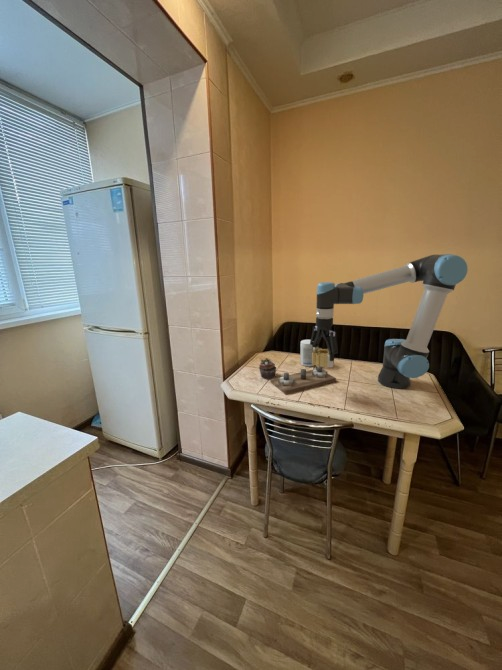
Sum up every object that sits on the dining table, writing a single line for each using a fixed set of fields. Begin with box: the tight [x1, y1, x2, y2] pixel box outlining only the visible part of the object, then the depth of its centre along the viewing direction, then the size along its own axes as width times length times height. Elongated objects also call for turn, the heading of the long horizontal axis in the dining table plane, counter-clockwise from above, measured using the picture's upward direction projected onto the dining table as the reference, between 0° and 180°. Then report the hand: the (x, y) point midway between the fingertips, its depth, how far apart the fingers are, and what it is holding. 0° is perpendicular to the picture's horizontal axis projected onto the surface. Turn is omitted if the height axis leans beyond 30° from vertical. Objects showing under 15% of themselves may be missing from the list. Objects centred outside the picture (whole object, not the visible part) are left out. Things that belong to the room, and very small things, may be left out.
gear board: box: [270, 366, 337, 395], centre depth 149 cm, size 15×31×7 cm, turn 114°
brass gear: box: [312, 347, 335, 369], centre depth 132 cm, size 10×10×6 cm
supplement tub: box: [299, 339, 315, 367], centre depth 172 cm, size 10×10×15 cm
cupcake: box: [258, 358, 277, 380], centre depth 158 cm, size 10×10×10 cm
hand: (322, 363), depth 133 cm, fingers closed on brass gear, 10 cm apart
